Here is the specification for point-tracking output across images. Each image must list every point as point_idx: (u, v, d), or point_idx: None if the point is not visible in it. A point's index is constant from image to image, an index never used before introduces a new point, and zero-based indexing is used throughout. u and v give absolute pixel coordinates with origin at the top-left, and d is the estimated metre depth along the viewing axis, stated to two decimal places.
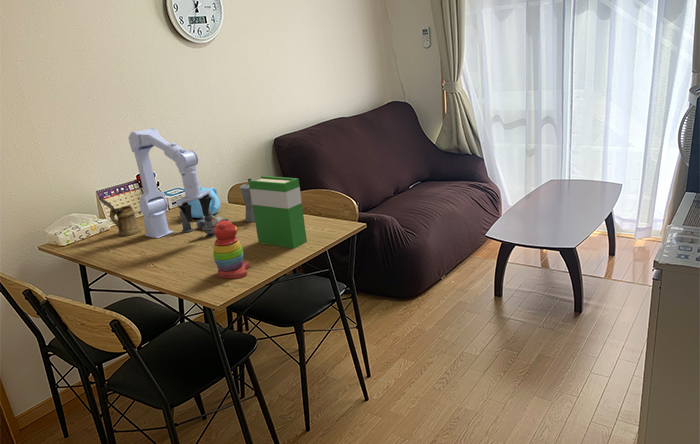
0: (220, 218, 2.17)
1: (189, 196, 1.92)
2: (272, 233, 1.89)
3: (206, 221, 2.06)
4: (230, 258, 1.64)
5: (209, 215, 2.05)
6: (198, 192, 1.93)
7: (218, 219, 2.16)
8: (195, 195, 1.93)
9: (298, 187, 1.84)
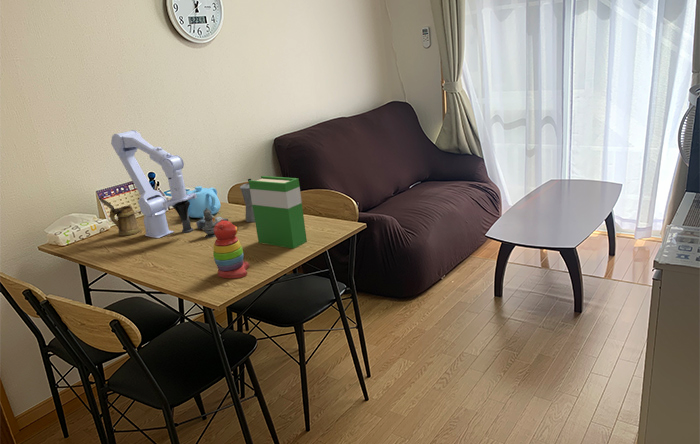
0: (220, 218, 2.17)
1: (175, 199, 2.02)
2: (272, 233, 1.89)
3: (206, 221, 2.06)
4: (230, 258, 1.64)
5: (209, 215, 2.05)
6: (184, 195, 2.03)
7: (218, 219, 2.16)
8: (181, 198, 2.02)
9: (298, 187, 1.84)
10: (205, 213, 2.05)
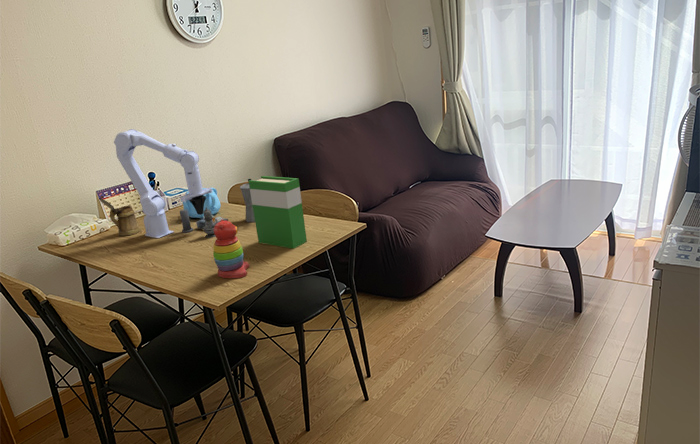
0: (220, 218, 2.17)
1: (192, 193, 2.08)
2: (272, 233, 1.89)
3: (206, 221, 2.06)
4: (230, 258, 1.64)
5: (209, 215, 2.05)
6: (200, 189, 2.09)
7: (218, 219, 2.16)
8: (197, 192, 2.08)
9: (298, 187, 1.84)
10: (205, 213, 2.05)
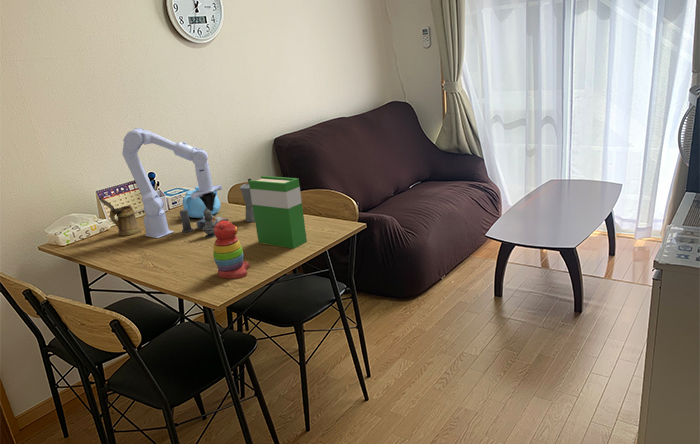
0: (220, 218, 2.17)
1: (202, 190, 2.12)
2: (272, 233, 1.89)
3: (206, 221, 2.06)
4: (230, 258, 1.64)
5: (209, 215, 2.05)
6: (210, 186, 2.13)
7: (218, 219, 2.16)
8: (208, 189, 2.12)
9: (298, 187, 1.84)
10: (205, 213, 2.05)
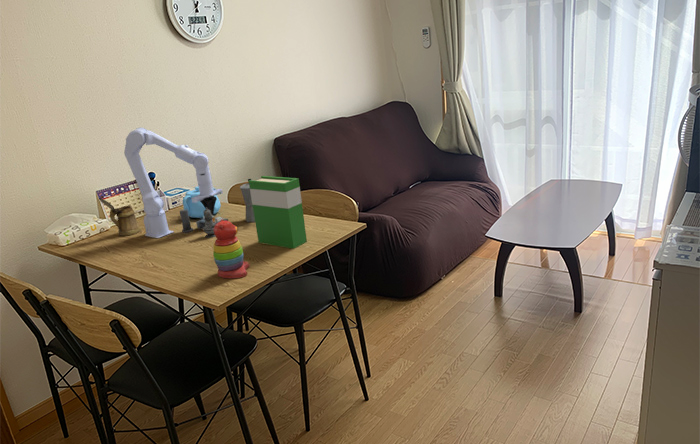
0: (220, 218, 2.17)
1: (203, 194, 2.13)
2: (272, 233, 1.89)
3: (206, 221, 2.06)
4: (230, 258, 1.64)
5: (209, 215, 2.05)
6: (211, 190, 2.14)
7: (218, 219, 2.16)
8: (208, 193, 2.13)
9: (298, 187, 1.84)
10: (205, 213, 2.05)
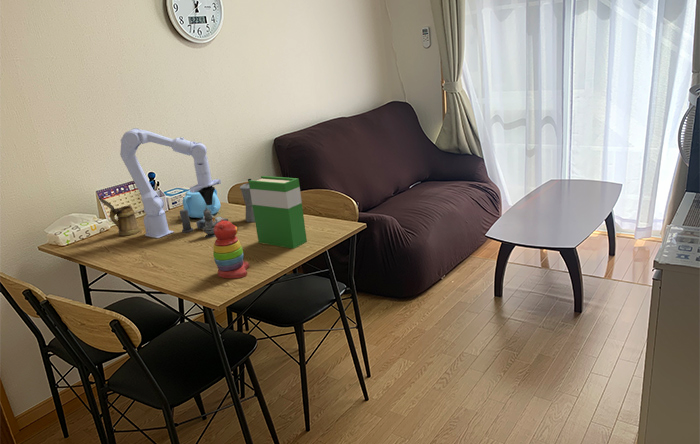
0: (220, 218, 2.17)
1: (201, 184, 2.11)
2: (272, 233, 1.89)
3: (206, 221, 2.06)
4: (230, 258, 1.64)
5: (209, 215, 2.05)
6: (209, 180, 2.12)
7: (218, 219, 2.16)
8: (207, 183, 2.12)
9: (298, 187, 1.84)
10: (205, 213, 2.05)
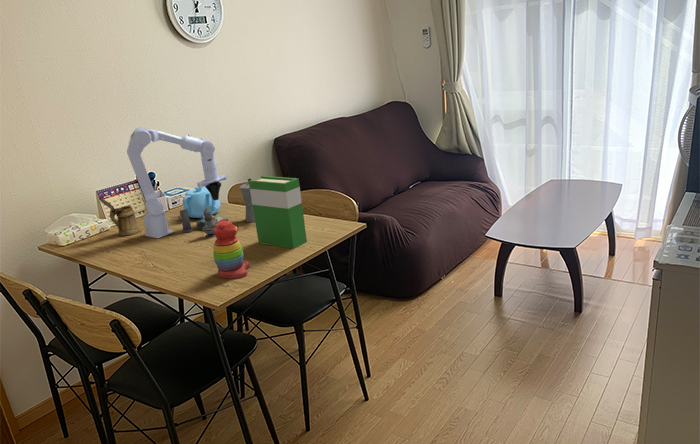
0: (220, 218, 2.17)
1: (208, 179, 2.18)
2: (272, 233, 1.89)
3: (206, 221, 2.06)
4: (230, 258, 1.64)
5: (209, 215, 2.05)
6: (216, 176, 2.19)
7: (218, 219, 2.16)
8: (213, 178, 2.18)
9: (298, 187, 1.84)
10: (205, 213, 2.05)
